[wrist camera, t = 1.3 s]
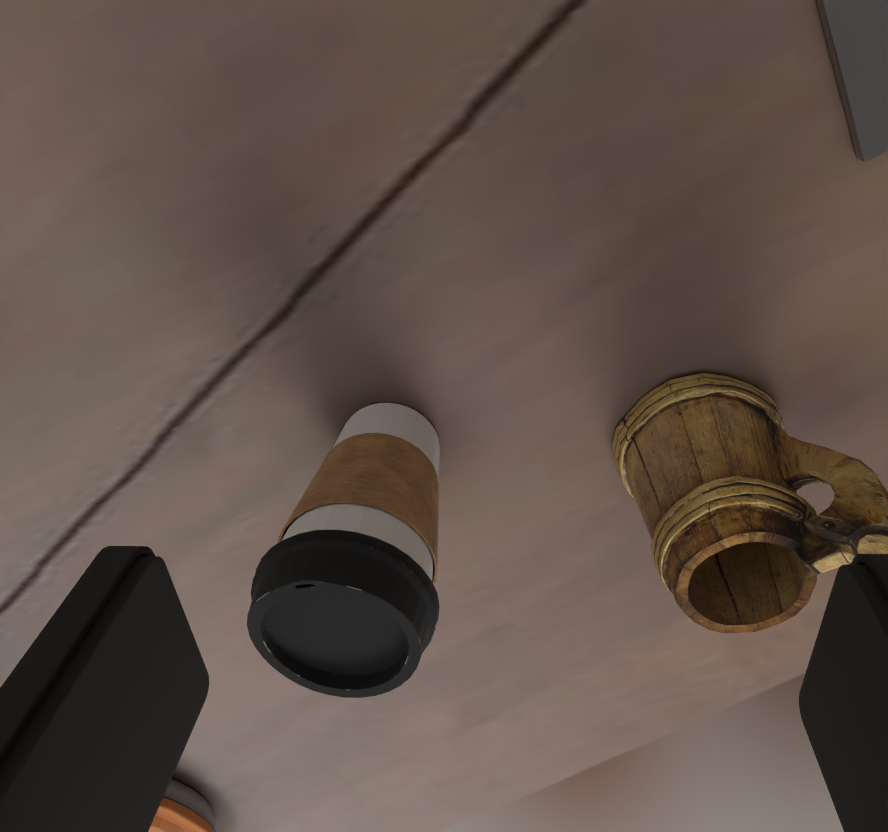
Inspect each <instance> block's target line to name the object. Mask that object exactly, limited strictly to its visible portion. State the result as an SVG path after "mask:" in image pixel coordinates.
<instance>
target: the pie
mask: <svg viewBox="0 0 888 832" xmlns="http://www.w3.org/2000/svg"><path fill="white" fill-rule="evenodd" d="M148 832H217V830H216V824H215V819H214V815H213V812H212V809H211V807H210V805H209V804H208V803H207V802H206V800H205V799H204V798H203V797H202V796H201V795H199V794H198V793H197V792H195V791H194V790H193V789H192V788H190V787H188V786H186V785H184V784H182V783H180V782H178V781H176V780H173V779H171V780H170V783H169V785H168V787H167V790H166V792H165V794H164V797H163V799H162V801H161V804H160V806H159V808H158V810H157V813H156V815H155V817H154V820H153V822H152V824H151V827H150V829H149V831H148Z"/></svg>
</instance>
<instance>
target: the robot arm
mask: <svg viewBox="0 0 888 832" xmlns="http://www.w3.org/2000/svg"><path fill="white" fill-rule="evenodd" d="M208 688H209V676H208V672H207V669H206V667H205V664H204V662H203V659H202V657H201V654H200V651H199V649H198V646H197V644H196V641H195V639H194V636H193V634H192V631H191V628H190V626H189V623H188V621H187V618H186V616H185V613H184V611H183V608H182V605H181V603H180V600H179V598H178V595H177V593H176V590H175V588H174V585H173V582H172V580H171V577H170V575H169V572H168V570H167V567H166V565H165V562H164V561H163V559H162V558H161V557H155V555H154V553H153V551H152V550H151V549H150V548H149V547H144V546H108V547H105V548H103V549H102V550H101V551H100V552H99V553H98V555H97V556H96V557H95V559H94V560H93V561H92V563H91V564H90V566H89V567H88V568H87V570H86V571H85V572H84V574H83V575H82V577H81V578H80V579H79V581H78V582H77V583H76V585H75V586H74V587H73V589H72V590H71V592H70V593H69V594H68V596H67V597H66V598H65V600H64V601H63V603H62V604H61V605H60V607H59V608H58V609H57V611H56V612H55V614H54V615H53V616H52V618H51V619H50V620H49V622H48V623H47V625H46V626H45V627H44V629H43V630H42V631H41V633H40V634H39V636H38V637H37V638H36V640H35V641H34V642H33V644H32V645H31V647H30V648H29V649H28V651H27V652H26V653H25V655H24V656H23V657H22V659H21V660H20V662H19V663H18V664H17V666H16V667H15V668H14V670H13V671H12V673H11V674H10V675H9V677H8V678H7V679H6V681H5V682H4V684H3V685H2V686H1V688H0V832H148V831H149V829H150V827H151V824H152V822H153V820H154V817H155V815H156V813H157V810H158V808H159V806H160V804H161V801H162V799H163V797H164V794H165V792H166V790H167V787H168V785H169V783H170V780H171V778H172V776H173V774H174V771H175V769H176V767H177V764H178V762H179V760H180V757H181V755H182V753H183V751H184V748H185V746H186V744H187V741H188V739H189V737H190V734H191V732H192V730H193V727H194V725H195V723H196V721H197V718H198V716H199V714H200V711H201V709H202V707H203V704H204V702H205V700H206V697H207V693H208ZM799 707H800V713H801V718H802V721H803V724H804V727H805V729H806V732H807V735H808V737H809V740H810V743H811V745H812V748H813V750H814V753H815V756H816V758H817V761H818V764H819V766H820V769H821V772H822V774H823V777H824V779H825V782H826V785H827V787H828V790H829V793H830V795H831V798H832V801H833V803H834V806H835V809H836V811H837V814H838V817H839V819H840V822H841V824H842V827H843V830H844V832H888V554H857V555H856V556H855V557H854V558H853V560H852V562H851V565H842V566H841V567H840V568H839V570H838V572H837V575H836V578H835V581H834V585H833V588H832V591H831V594H830V597H829V601H828V604H827V607H826V610H825V613H824V617H823V620H822V623H821V626H820V629H819V633H818V636H817V639H816V642H815V645H814V648H813V652H812V655H811V658H810V661H809V664H808V668H807V671H806V674H805V677H804V680H803V684H802V687H801V690H800V695H799Z"/></svg>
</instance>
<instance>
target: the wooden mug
mask: <svg viewBox="0 0 888 832" xmlns="http://www.w3.org/2000/svg"><path fill="white" fill-rule="evenodd" d="M612 451H613V456H614V460H615V464H616V467H617V469H618V471H619V474H620V476H621V479H622V481H623V483H624V485H625V487H626V489H627V490H628V492H629V494H630V495H631V496H632V497H634V498H635V500H636V503H637V505H638V507H639V510H640V512H641V514H642V517H643V519H644V522H645V524H646V526H647V529H648V531H649V533H650V536H651V538H652V544H651V551H652V559H653V563H654V566H655V567H656V569H657V571H658V573H659V575H660V576H661V578H662V580H663V582H664V584H665V585H666V587H667V589H668V591H669V592H670V593H671V594H673V595H674V597H675V600H676V602H677V604H678V605H679V607H680V608H681V609H682V610H683V612H684V613H685V614H686V615H687V616H689V617H690V618H691V619H692V620H693V621H694V622H695V623H697V624H699V625H701V626H703V627H705V628H707V629H709V630H713V631H717V632H721V633H743V632H756V631H759V630H762V629H766V628H769V627H772V626H774V625H777V624H779V623H781V622H783V621H785V620H787V619H789V618H791V617H793V616H795V615H796V614H797V613H798V612H799V611H800V610H801V609H802V608H803V607H804V606H805V605H806V604H807V603H808V601H809V599H810V596H811V594H812V592H813V589H814V587H815V584H816V581H817V574H820V573H823V572H826V571H829V570H832V569H834V568H837V567H840V566H842V565H851V562H852V560H853V558H854V557H855V556H856V555H857V554H888V492H887V491H886V489H885V487H884V485H883V483H882V481H881V479H880V477H879V475H878V474H876V473H875V472H874V471H873V470H872V469H870V468H869V467H868V466H867V465H865V464H864V463H863V462H862V461H861V460H858V459H855V458H852V457H850V456H847V455H844V454H842V453H839V452H837V451H834V450H831V449H829V448H825V447H822V446H818V445H814V444H810V443H807V442H803V441H800V440H797V439H795V438H792V437H790V436H788V435H787V434H786V432H785V431H784V429H783V424H782V419H781V413H780V411H779V409H778V407H777V405H776V403H775V402H774V401H773V400H772V399H771V398H770V397H769V396H768V395H767V394H766V393H764V392H763V391H761V390H759V389H757V388H756V387H754V386H752V385H751V384H749V383H746V382H743V381H740V380H737V379H734V378H731V377H728V376H722V375H715V374H707V373H701V374H696V375H691V376H686V377H681V378H677V379H672V380H669V381H667V382H666V383H664V384H663V385H661V386H659V387H657V388H655V389H653V390H652V391H650V392H649V393H647V394H646V395H645V396H643V397H642V398H641V399H640V400H639V401H638V402H637V403H636V404H635V405H634V407H633V408H632V409H631V410H630V411H629V412H628V413H627V415H626V416H625V417H624V419H623V420H622V421H621V423H620V424H619V425H618V427H617V428H616V432H615V436H614V440H613V444H612ZM819 482H822V483H825V484H828V485H831V487H832V489H833V491H834V492H835V495H834V500H833V502H832V504H831V506H830V507H829V508H828V509H826V510H825V511H823V512H822V513H821V514H819V515H818V514H816V511H815V509H814V508H813V507H812V506H811V505H810V504H809V503H808V502H807V501H806V500H805V499H803V498H802V497H800V496H799V495H797V493H796V490H798V489H799V488H801V487H802V486H804V485H807V484H810V483H819Z"/></svg>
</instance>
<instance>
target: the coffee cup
mask: <svg viewBox="0 0 888 832" xmlns="http://www.w3.org/2000/svg"><path fill="white" fill-rule="evenodd" d="M439 458H440V444H439V438H438V436H437V433H436V431H435V429H434V428H433V426H432V425H431V423H430V422H429V421H428V420H427V419H426V418H425V417H424V416H423V415H421V414H420V413H418V412H417V411H415V410H413V409H411V408H409V407H407V406H403V405H400V404H395V403H377V404H373V405H369V406H366V407H364V408H362V409H360V410H359V411H357V412H356V413H354V414H353V415H352V416H351V418H350V419H349V420H348V421H347V423H346V424H345V426H344V428H343V430H342V432H341V433H340V435H339V437H338V439H337V441H336V443H335V444H334V446H333V448H332V450H331V451H330V452H329V454H328V455H327V457H326V459H325V460H324V462H323V463H322V465H321V467H320V468H319V470H318V472H317V473H316V475H315V477H314V478H313V480H312V482H311V483H310V485H309V487H308V488H307V490H306V492H305V493H304V495H303V497H302V498H301V500H300V502H299V503H298V505H297V507H296V508H295V510H294V512H293V513H292V515H291V517H290V518H289V520H288V522H287V523H286V525H285V527H284V528H283V530H282V532H281V534H280V536H279V540H278V544H276V545H275V546H273V547H272V548H271V549H270V550H269V551H268V552H267V553H266V554H265V555H264V556H263V557H262V559H261V561H260V563H259V565H258V567H257V569H256V573H255V576H254V579H253V583H252V589H251V598H252V602H251V606H250V610H249V613H248V619H247V627H248V631H249V636H250V638H251V640H252V642H253V644H254V646H255V647H256V649H257V650H258V651H259V653H260V654H261V655H262V657H263V658H264V659H265V660H266V661H267V662H268V663H269V664H270V665H271V666H272V667H273V668H275V669H276V670H277V671H278V672H280V673H281V674H282V675H284V676H285V677H287V678H288V679H290V680H292V681H294V682H295V683H297V684H299V685H301V686H304V687H306V688H308V689H311V690H313V691H317V692H320V693H324V694H327V695H333V696H339V697H354V698H361V697H369V696H376V695H379V694H382V693H386V692H389V691H391V690H393V689H395V688H397V687H399V686H400V685H402V684H403V683H404V682H405V681H407V680H408V679H409V678H410V677H411V675H412V674H413V673H414V671H415V670H416V668H417V666H418V663H419V660H420V658H421V655H422V652H423V651H424V650H425V648H426V647H427V646H428V644H429V643H430V641H431V638H432V636H433V633H434V631H435V625H436V623H437V620H438V615H439V601H438V595H437V592H436V589H435V587H434V584H435V581H436V575H437V549H438V497H439V483H438V475H439Z"/></svg>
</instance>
